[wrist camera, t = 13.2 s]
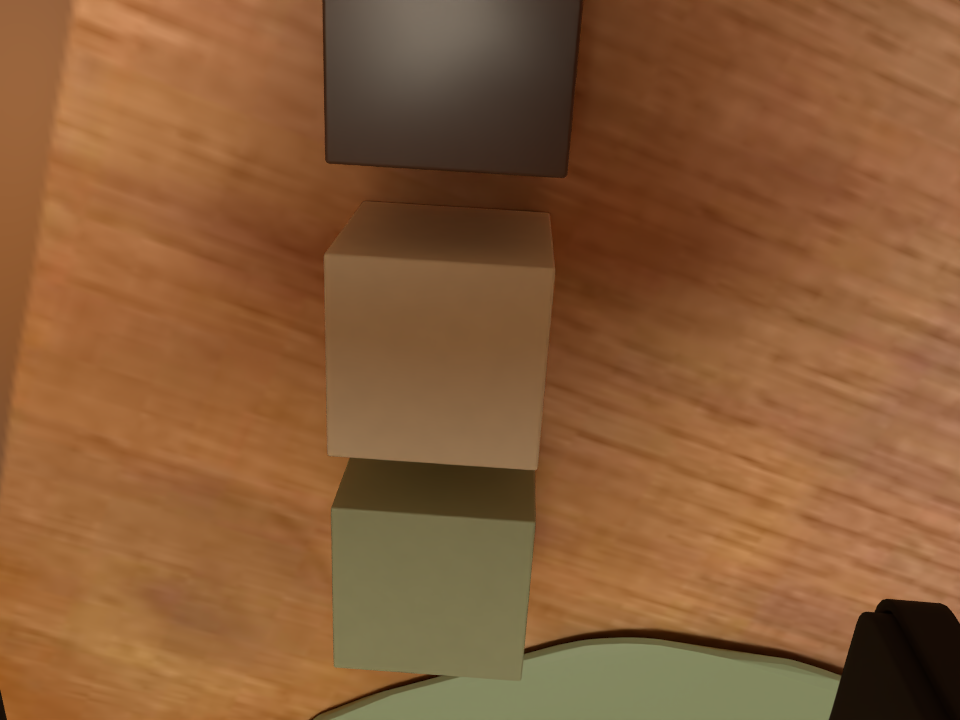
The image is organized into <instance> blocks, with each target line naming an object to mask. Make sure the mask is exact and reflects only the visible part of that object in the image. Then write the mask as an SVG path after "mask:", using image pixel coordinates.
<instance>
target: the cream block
mask: <svg viewBox="0 0 960 720" xmlns="http://www.w3.org/2000/svg"><path fill="white" fill-rule="evenodd" d="M554 281H555V262H554V252H553V241H552V231H551V221H550V214H549V213H546V212H530V211H514V210H498V209H483V208H467V207H451V206H435V205H420V204H404V203H388V202H372V201H363V202H362V203H361V205H360V206H359V208H358V209H357V210H356V212H355V213H354V214H353V216H352V217H351V218H350V220H349V221H348V223H347V224H346V225H345V227H344V228H343V229H342V231H341V232H340V233H339V235H338V236H337V238H336V239H335V240H334V242H333V243H332V244H331V246H330V247H329V248H328V250H327V251H326V252H325V254H324V302H325V358H326V413H327V454H328V455H329V456H336V457H351V458H365V459H379V460H393V461H407V462H422V463H436V464H450V465H464V466H478V467H493V468H507V469H521V470H537V468H538V459H539V447H540V436H541V425H542V414H543V403H544V392H545V381H546V370H547V359H548V347H549V336H550V325H551V314H552V303H553V292H554Z"/></svg>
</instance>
